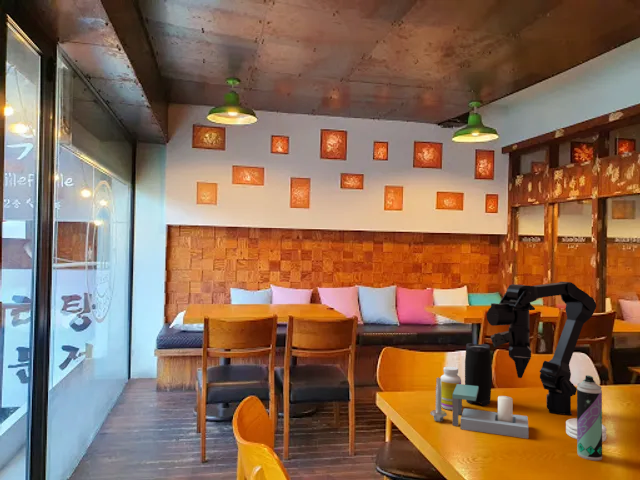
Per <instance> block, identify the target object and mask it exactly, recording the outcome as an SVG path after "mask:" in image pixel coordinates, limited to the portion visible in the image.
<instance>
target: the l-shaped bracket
mask: <svg viewBox="0 0 640 480" xmlns="http://www.w3.org/2000/svg"><path fill="white" fill-rule="evenodd" d="M477 394H478V386H472V385H465V384H462V383H461V384H457V385H456V387H455V390H454V392H453V410H452V426H454V427H458V426H459V416H462V413H463V400H465V401H466V400H472V401H476V398H477Z"/></svg>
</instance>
